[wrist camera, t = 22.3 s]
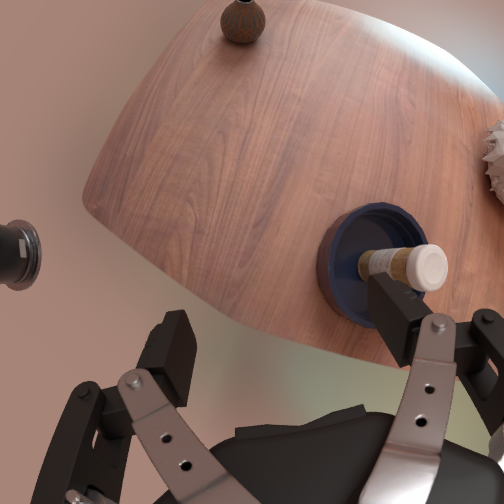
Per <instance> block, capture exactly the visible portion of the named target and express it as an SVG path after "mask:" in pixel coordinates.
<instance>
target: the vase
mask: <svg viewBox="0 0 504 504" xmlns="http://www.w3.org/2000/svg"><path fill="white" fill-rule="evenodd" d="M265 22H266V20H265V15H264V12H263V10H262V9H261V8H260V6H259V5H257V4H256V3H255V1H254V0H235V1H234V2H233V3H231V4H230V5H229V6H227V7H226V9H225V10H224V11H223V13H222V16H221V21H220V23H221V29H222V32H223V34H224V35H225V36H226V37H227V38H228V39H229V40H231V41H233V42H236V43H249V42H252V41H254V40H256V39H257V38H258V37H259V36H260V35H261V34H262V32H263V30H264V27H265Z"/></svg>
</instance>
